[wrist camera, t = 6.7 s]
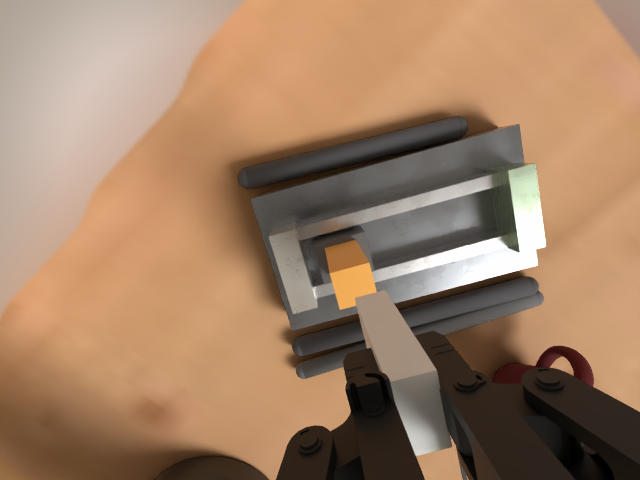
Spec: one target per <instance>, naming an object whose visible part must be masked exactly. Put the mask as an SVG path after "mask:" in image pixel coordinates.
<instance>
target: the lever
mask: <svg viewBox="0 0 640 480" xmlns="http://www.w3.org/2000/svg"><path fill="white" fill-rule="evenodd" d="M313 247H314V251H315V254H316V258H317V261H318V265H319V268H320V271H321V275H322V278H323V282H324V285H325V284H329V283H332V284H333V287H334V291H335V294H336V298H337V301H338V305H339V309H340V310H342V309H346V308H349V307H353V306H356V302H355V298H356V297H360V296H364V295H368V294H372V293H376V292H377V291H376V287H375V283H374V279H373V275H372V272H373V271H374V267H373V263H372V259H371V255H370V251H369V246H368V242H367V238H366V234H365V231H364V230H363V229H362V227H361V226H357V227H354V228H350V229H346V230H343V231H339V232H335V233H332V234H328V235H325V236H321V237H317V238H314V239H313Z"/></svg>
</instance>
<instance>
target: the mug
mask: <svg viewBox="0 0 640 480" xmlns="http://www.w3.org/2000/svg"><path fill="white" fill-rule="evenodd" d="M562 356H563V357H565V358H566V359H567V360H568V361H569V362H570V364H571V366H572V368H573V371H574V377H576V378H578V379H579V380H581V381H583V382H585V383H587V384H589V385H591V386H592V387H593V384H594V377H593V373H592V369H591V367H590V365H589V363H588V362H587V360H586V359H585V358H584V357H583V356H582V355H581V354H580V353H578V352H577V351H576V350H574V349H571V348H569V347H565V346H553V347H550V348H548V349H547V350H546V351H545V352H544V353H543V354H542V355H541V356H540V358H539V360H538V362H537V363H536V366H531V365H524V364H508V365H505V366H504V367H502V368H501V369H499V370H498V371H497V373H496V374H495V376H494V378H493V383H498V384H522V383H521V378H522V375H523V374H524V373H525V372H526V371H528V370H530V369H533V368H538V367H549V368H550V366H551V365H552V363H553V362H554V361H555V360H556V359H557V358H559V357H562Z"/></svg>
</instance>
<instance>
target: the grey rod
mask: <svg viewBox="0 0 640 480" xmlns="http://www.w3.org/2000/svg"><path fill="white" fill-rule="evenodd" d="M538 289H539V285H538V282H537V281H536V280H535V279H534V278H532V277H522V278H518V279H514V280H510V281H507V282H503V283H499V284H495V285H492V286H488V287H484V288H480V289H476V290H473V291H469V292H465V293H461V294H458V295H454V296H450V297H446V298H443V299H439V300H435V301H431V302H428V303H424V304H420V305H416V306H413V307H409V308H405V309H401V310H398V311H399V312H400V314H401V315H402V317H403V318H404V320H405V322H406V323H407V325H408V326H409V328H410V327H414V326H418V325H422V324H426V323H429V322H433V321H437V320H441V319H444V318H448V317H452V316H456V315H460V314H463V313H467V312H471V311H475V310H479V309H482V308H486V307H490V306H494V305H497V304H501V303H505V302H509V301H513V300H516V299H520V298H524V297H528V296H531V295H534V294H535V293H536V292H537V291H538ZM361 340H365V338H364V334H363V330H362V326H361V322H360V321H356V322H353V323H349V324H345V325H341V326H338V327H334V328H330V329H326V330H323V331H319V332H315V333H311V334H308V335H304V336H300V337H297V338H296V339H295V340H294V341H293V344H292V349H293V351H294V353H295V354H296V355H299V356H305V355H308V354H312V353H316V352H320V351H324V350H327V349H331V348H335V347H339V346H342V345H346V344H350V343H354V342H358V341H361Z"/></svg>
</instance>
